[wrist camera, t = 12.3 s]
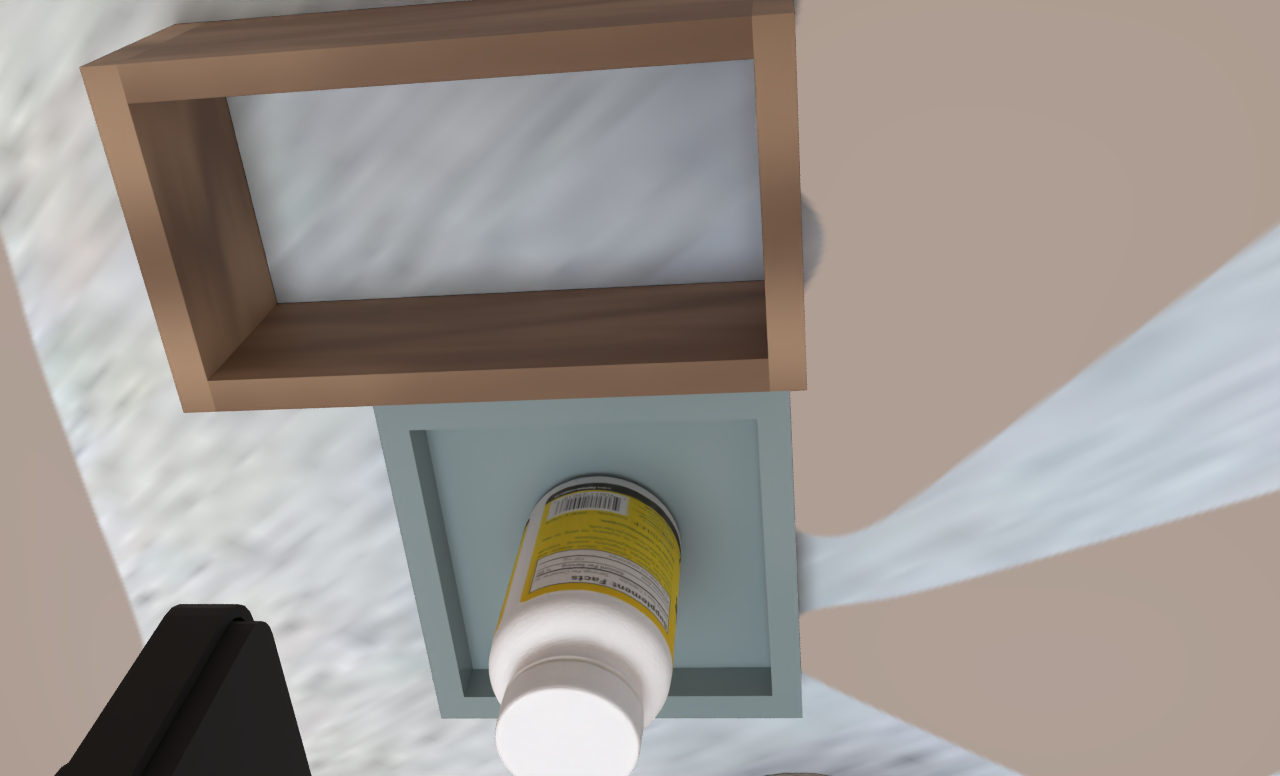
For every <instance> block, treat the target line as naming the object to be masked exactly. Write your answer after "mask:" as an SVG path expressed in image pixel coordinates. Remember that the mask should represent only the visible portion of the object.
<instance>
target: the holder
mask: <svg viewBox="0 0 1280 776" xmlns="http://www.w3.org/2000/svg"><path fill="white" fill-rule="evenodd" d="M745 59H754V71H755V92H756V112H757V133H758V153H759V174H760V195H761V215H762V236H763V256H764V277H765V280H764V281H743V282H722V283H701V284H680V285H660V286H639V287H618V288H597V289H576V290H556V291H535V292H514V293H493V294H472V295H451V296H431V297H410V298H389V299H368V300H347V301H327V302H306V303H285V304H277V302H276V298H275V294H274V290H273V286H272V282H271V278H270V274H269V270H268V266H267V262H266V258H265V254H264V250H263V246H262V242H261V238H260V234H259V230H258V226H257V222H256V218H255V214H254V210H253V206H252V202H251V198H250V194H249V190H248V186H247V182H246V178H245V174H244V170H243V166H242V162H241V158H240V154H239V150H238V146H237V142H236V138H235V134H234V130H233V126H232V122H231V118H230V114H229V110H228V106H227V102H226V98H225V97H229V96H243V95H257V94H271V93H285V92H299V91H313V90H327V89H341V88H355V87H369V86H383V85H397V84H411V83H425V82H439V81H452V80H466V79H480V78H494V77H508V76H522V75H536V74H550V73H564V72H578V71H592V70H606V69H620V68H634V67H648V66H662V65H676V64H690V63H703V62H717V61H731V60H745ZM79 68H80V71H81V74H82V77H83V81H84V84H85V87H86V91H87V94H88V97H89V101H90V104H91V107H92V111H93V114H94V117H95V121H96V124H97V127H98V130H99V134H100V137H101V140H102V144H103V147H104V150H105V154H106V157H107V160H108V164H109V167H110V170H111V174H112V177H113V180H114V183H115V187H116V190H117V193H118V197H119V200H120V203H121V207H122V210H123V213H124V217H125V220H126V223H127V226H128V230H129V233H130V236H131V240H132V243H133V246H134V250H135V253H136V256H137V260H138V263H139V266H140V270H141V273H142V276H143V279H144V283H145V286H146V289H147V293H148V296H149V299H150V303H151V306H152V309H153V313H154V316H155V319H156V323H157V326H158V329H159V332H160V336H161V339H162V342H163V346H164V349H165V352H166V356H167V359H168V362H169V366H170V369H171V372H172V375H173V379H174V382H175V385H176V389H177V392H178V395H179V399H180V402H181V405H182V409H183V412H184V413H192V412H219V411H247V410H274V409H302V408H330V407H357V406H385V405H413V404H440V403H468V402H496V401H523V400H551V399H579V398H606V397H634V396H661V395H689V394H717V393H744V392H772V391H799V390H807V375H806V349H805V348H806V345H805V314H804V284H803V253H802V223H801V192H800V165H799V164H800V162H799V132H798V100H797V71H796V39H795V11H794V0H472V1H460V2H447V3H435V4H422V5H410V6H398V7H385V8H373V9H360V10H348V11H335V12H323V13H310V14H298V15H286V16H273V17H261V18H248V19H236V20H223V21H211V22H198V23H186V24H174V25H172V26H170V27H168V28H165V29H163V30H161V31H159V32H156V33H154V34H152V35H150V36H148V37H145V38H143V39H141V40H139V41H137V42H134V43H132V44H130V45H128V46H125V47H123V48H121V49H119V50H117V51H114V52H112V53H110V54H108V55H106V56H103V57H101V58H99V59H97V60H94V61H92V62H90V63H88V64H86V65H83V66H81V67H79Z"/></svg>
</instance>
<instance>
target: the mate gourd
mask: <svg viewBox="0 0 1280 776" xmlns="http://www.w3.org/2000/svg"><path fill="white" fill-rule="evenodd" d="M767 776H827V775H821V774H806V773H782V774H775V775H767Z"/></svg>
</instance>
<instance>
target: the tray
mask: <svg viewBox="0 0 1280 776" xmlns="http://www.w3.org/2000/svg"><path fill="white" fill-rule="evenodd" d="M373 408H374V413H375V417H376V422H377V427H378V431H379V436H380V440H381V445H382V449H383V454H384V458H385V463H386V467H387V472H388V477H389V481H390V486H391V490H392V495H393V499H394V504H395V508H396V513H397V518H398V522H399V527H400V531H401V536H402V540H403V545H404V549H405V554H406V559H407V563H408V568H409V572H410V577H411V581H412V586H413V590H414V595H415V599H416V604H417V609H418V613H419V618H420V622H421V627H422V631H423V636H424V640H425V645H426V650H427V654H428V659H429V663H430V668H431V672H432V677H433V681H434V686H435V691H436V695H437V700H438V704H439V709H440V713H441V718H498V715H499V711H500V707H501V705H500V703H499V701H498V700H497V698H496V696H495V694H494V691H493V688H492V685H491V681H490V676H489V656H490V651H491V645H492V641H493V637H494V634H495V630H496V627H497V623H498V620H499V616H500V613H501V609H502V606H503V602H504V599H505V595H506V591H507V588H508V584H509V581H510V577H511V574H512V570H513V567H514V563H515V560H516V556H517V552H518V549H519V545H520V542H521V538H522V535H523V532H524V529H525V526H526V523H527V520H528V518H529V516H530V514H531V512H532V510H533V509H534V507H535V506H536V504H537V503H538V502H539V501H540V500H541V499H542V497H544V496H545V495H546V494H547V493H548V492H550V491H551V490H553V489H554V488H556V487H557V486H559V485H561V484H563V483H566V482H568V481H571V480H574V479H578V478H583V477H593V476H606V477H613V478H618V479H622V480H626V481H629V482H631V483H634V484H636V485H638V486H640V487H642V488H644V489H645V490H647V491H648V492H650V493H651V494H652V495H654V496H655V497H656V498H657V499H658V500H660V501H661V503H662V504H663V505H664V506H665V507H666V508H667V510H668V511H669V512H670V514H671V515H672V517H673V519H674V521H675V523H676V525H677V528H678V531H679V534H680V540H681V567H680V580H679V592H678V606H677V620H676V631H675V643H674V658H673V672H672V678H671V684H670V689H669V693H668V696H667V699H666V701H665V703H664V705H663V707H662V709H661V711H660V712H659V713H658V715H657V716H656V717H655V718H802V687H801V660H800V659H801V658H800V636H799V635H800V633H799V608H798V583H797V558H796V533H795V511H794V509H795V508H794V486H793V484H794V483H793V458H792V435H791V408H790V391H772V392H744V393H717V394H689V395H661V396H634V397H606V398H579V399H551V400H523V401H496V402H468V403H440V404H413V405H385V406H373Z"/></svg>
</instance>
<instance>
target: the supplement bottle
mask: <svg viewBox="0 0 1280 776" xmlns="http://www.w3.org/2000/svg"><path fill="white" fill-rule="evenodd" d="M680 567H681V540H680V534H679V531H678V528H677V525H676V523H675V521H674V519H673V517H672V515H671V514H670V512H669V511H668V510H667V508H666V507H665V506H664V505H663V504H662V503H661V501H660V500H658V499H657V498H656V497H655V496H654V495H652V494H651V493H650V492H648V491H647V490H645V489H644V488H642V487H640V486H638V485H636V484H634V483H631V482H629V481H626V480H622V479H618V478H613V477H606V476H593V477H583V478H578V479H574V480H571V481H568V482H566V483H563V484H561V485H559V486H557V487H556V488H554V489H553V490H551V491H550V492H548V493H547V494H546V495H545V496H544V497H542V499H541V500H540V501H539V502H538V503H537V504H536V506H535V507H534V509H533V510H532V512H531V514H530V516H529V518H528V520H527V523H526V526H525V529H524V532H523V535H522V538H521V542H520V545H519V549H518V552H517V556H516V560H515V563H514V567H513V570H512V574H511V577H510V581H509V584H508V588H507V591H506V595H505V599H504V602H503V606H502V609H501V613H500V616H499V620H498V623H497V627H496V630H495V634H494V637H493V641H492V645H491V651H490V656H489V676H490V681H491V685H492V688H493V691H494V694H495V696H496V698H497V700H498V701H499V703H500V705H501V707H500V711H499V715H498V720H497V724H496V729H495V742H496V747H497V750H498V754H499V756H500V758H501V760H502V761H503V763H504V764H505V766H506V767H507V768H508V769H509V771H510V772H511V773H512V774H513V775H514V776H629V775H630V773H631V772H632V771H633V769H634V767H635V766H636V763H637V761H638V758H639V754H640V746H641V739H642V734H643V729H644V728H645V727H647V726H648V725H649V724H650V723H651V722H652V721H653V720H654V718H655V717H656V716H657V715H658V713H659V712H660V711H661V709H662V707H663V705H664V703H665V701H666V699H667V696H668V693H669V689H670V684H671V678H672V672H673V658H674V643H675V631H676V620H677V606H678V592H679V580H680Z"/></svg>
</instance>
